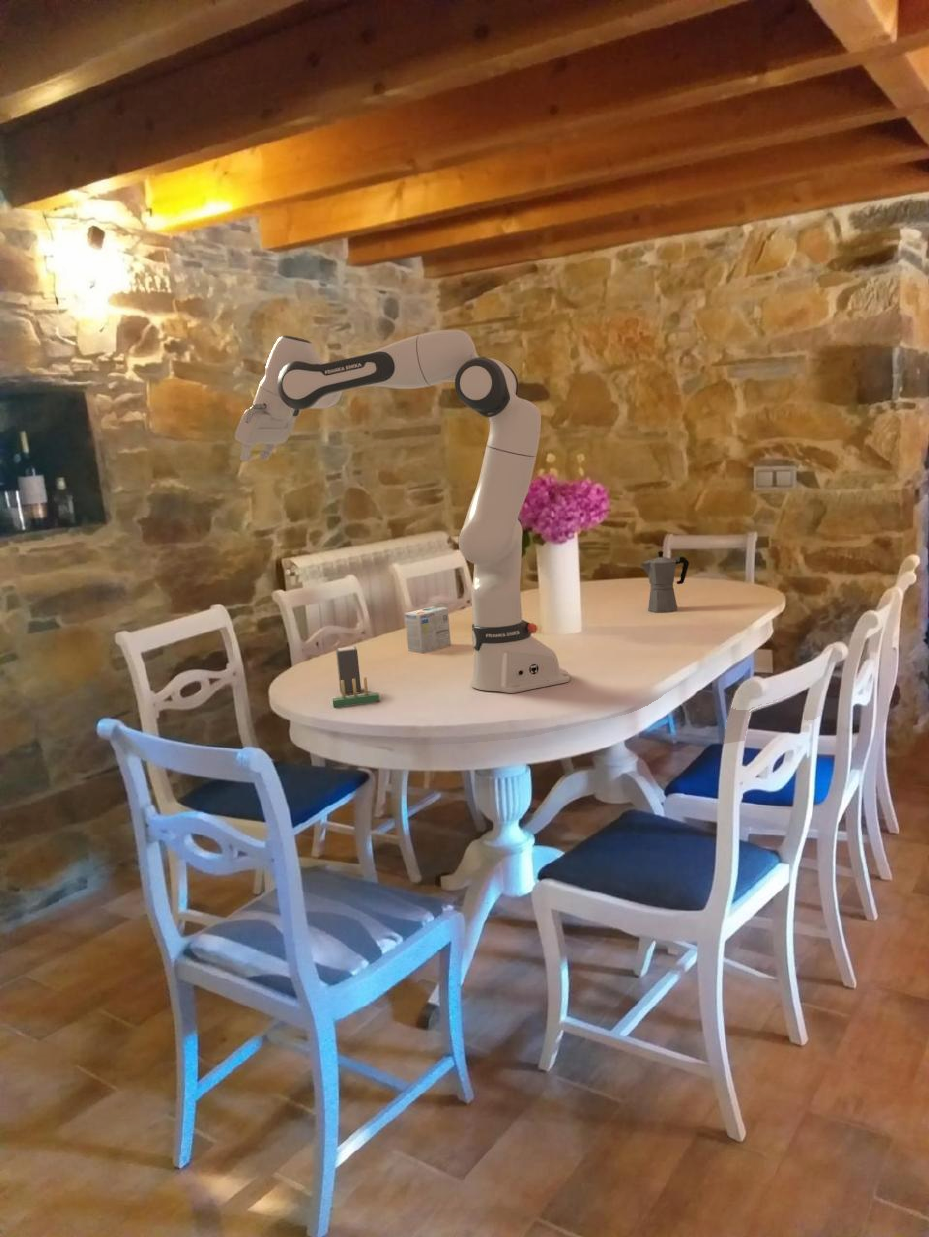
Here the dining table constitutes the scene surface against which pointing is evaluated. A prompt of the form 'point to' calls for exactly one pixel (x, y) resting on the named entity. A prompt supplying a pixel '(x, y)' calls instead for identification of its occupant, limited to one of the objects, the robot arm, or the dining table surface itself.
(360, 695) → the header strip
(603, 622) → the dining table surface
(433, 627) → the light bulb box
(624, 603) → the dining table surface
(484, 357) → the robot arm
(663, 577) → the coffeepot
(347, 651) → the block
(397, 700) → the dining table surface
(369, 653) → the dining table surface
